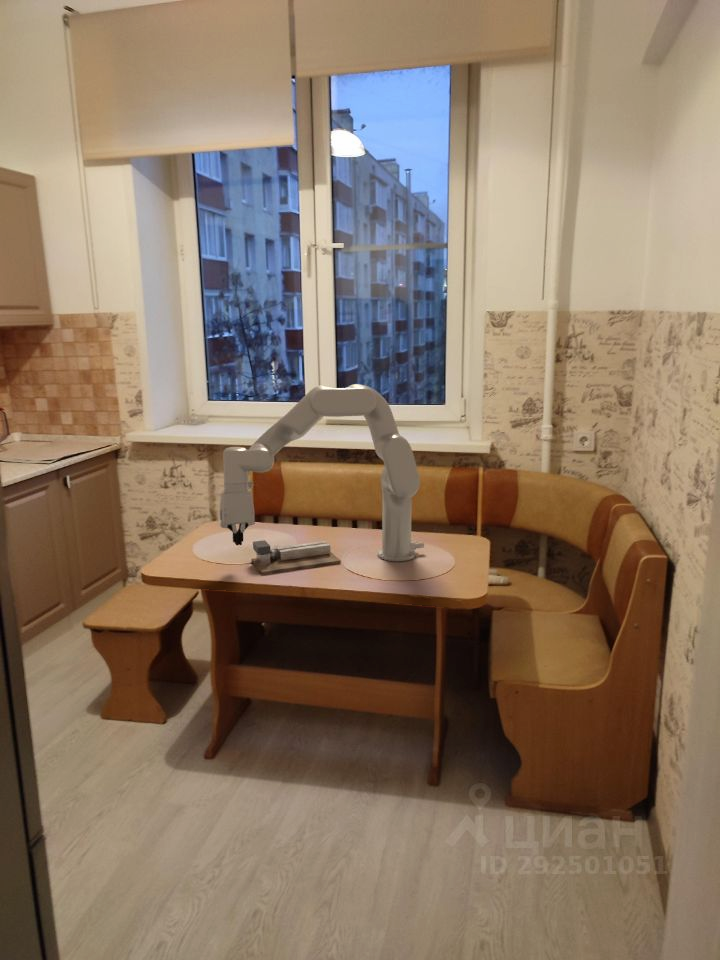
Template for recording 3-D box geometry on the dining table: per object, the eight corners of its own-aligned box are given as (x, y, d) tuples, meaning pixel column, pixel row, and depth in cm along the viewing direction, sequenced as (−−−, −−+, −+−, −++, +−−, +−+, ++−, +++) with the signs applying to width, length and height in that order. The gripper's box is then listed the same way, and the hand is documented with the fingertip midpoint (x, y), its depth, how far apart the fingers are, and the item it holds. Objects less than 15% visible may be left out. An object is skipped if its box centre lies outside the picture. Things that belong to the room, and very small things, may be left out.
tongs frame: (324, 549, 225) (324, 540, 224) (331, 555, 220) (331, 545, 219) (256, 559, 216) (256, 549, 215) (261, 565, 211) (261, 555, 210)
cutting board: (326, 551, 226) (326, 548, 226) (340, 563, 215) (340, 560, 215) (251, 561, 217) (251, 558, 216) (261, 575, 205) (261, 572, 205)
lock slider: (265, 547, 217) (264, 540, 216) (270, 553, 211) (270, 545, 210) (253, 548, 215) (252, 541, 214) (258, 554, 209) (257, 547, 209)
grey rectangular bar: (326, 550, 223) (326, 541, 223) (330, 553, 220) (330, 545, 219) (268, 558, 216) (267, 549, 215) (271, 562, 212) (270, 553, 212)
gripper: (257, 482, 212) (258, 538, 216) (209, 486, 206) (211, 543, 210) (263, 488, 205) (264, 545, 209) (214, 491, 199) (216, 550, 203)
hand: (238, 543), depth 209 cm, fingers closed
